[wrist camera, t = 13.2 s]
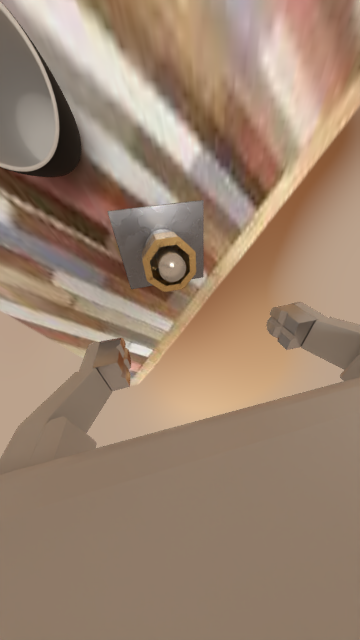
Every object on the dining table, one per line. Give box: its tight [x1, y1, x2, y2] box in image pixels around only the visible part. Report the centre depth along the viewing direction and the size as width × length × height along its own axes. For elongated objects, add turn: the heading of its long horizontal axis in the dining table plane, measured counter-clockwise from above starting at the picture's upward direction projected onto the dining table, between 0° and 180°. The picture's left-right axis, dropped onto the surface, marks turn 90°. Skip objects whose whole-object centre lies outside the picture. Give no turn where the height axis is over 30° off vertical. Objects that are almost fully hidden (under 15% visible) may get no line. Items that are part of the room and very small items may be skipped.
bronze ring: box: [142, 232, 196, 292], centre depth 21 cm, size 6×6×4 cm
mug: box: [0, 1, 81, 177], centre depth 15 cm, size 12×9×10 cm
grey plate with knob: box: [108, 200, 203, 289], centre depth 24 cm, size 14×12×13 cm
